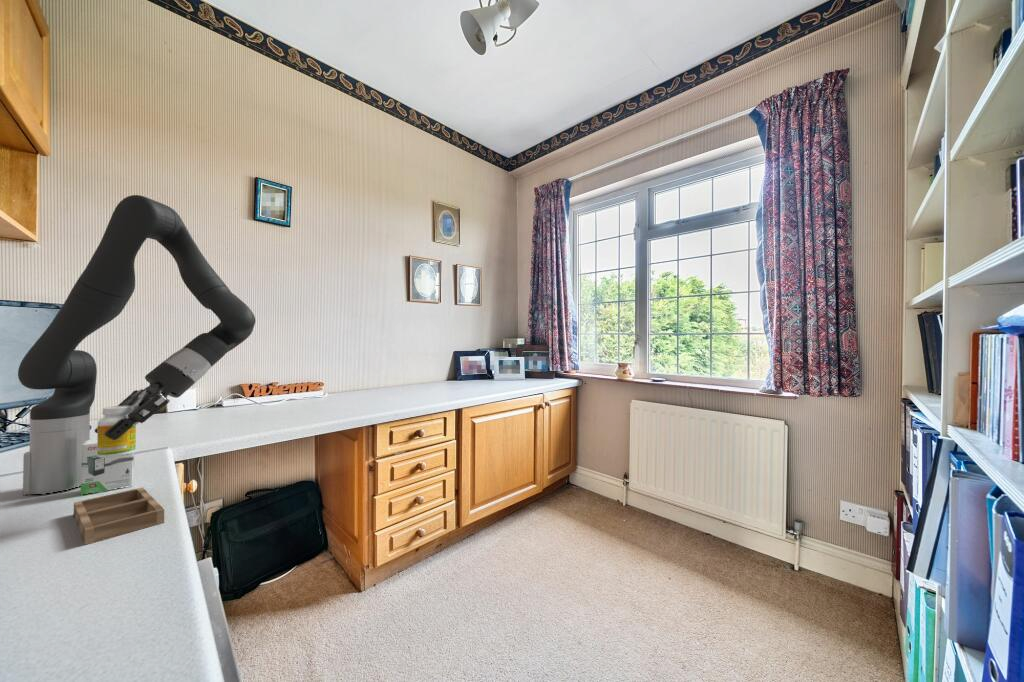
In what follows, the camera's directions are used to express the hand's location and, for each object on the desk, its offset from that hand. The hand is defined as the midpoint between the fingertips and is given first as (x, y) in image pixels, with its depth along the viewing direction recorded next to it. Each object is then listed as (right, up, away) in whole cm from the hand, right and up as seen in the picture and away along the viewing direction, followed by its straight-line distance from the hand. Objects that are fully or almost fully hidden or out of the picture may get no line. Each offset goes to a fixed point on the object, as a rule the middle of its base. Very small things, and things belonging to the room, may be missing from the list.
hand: (104, 435), depth 75 cm
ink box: (-15, -17, +15) cm, 27 cm away
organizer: (+4, -16, -1) cm, 17 cm away
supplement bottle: (+1, -4, +1) cm, 5 cm away
